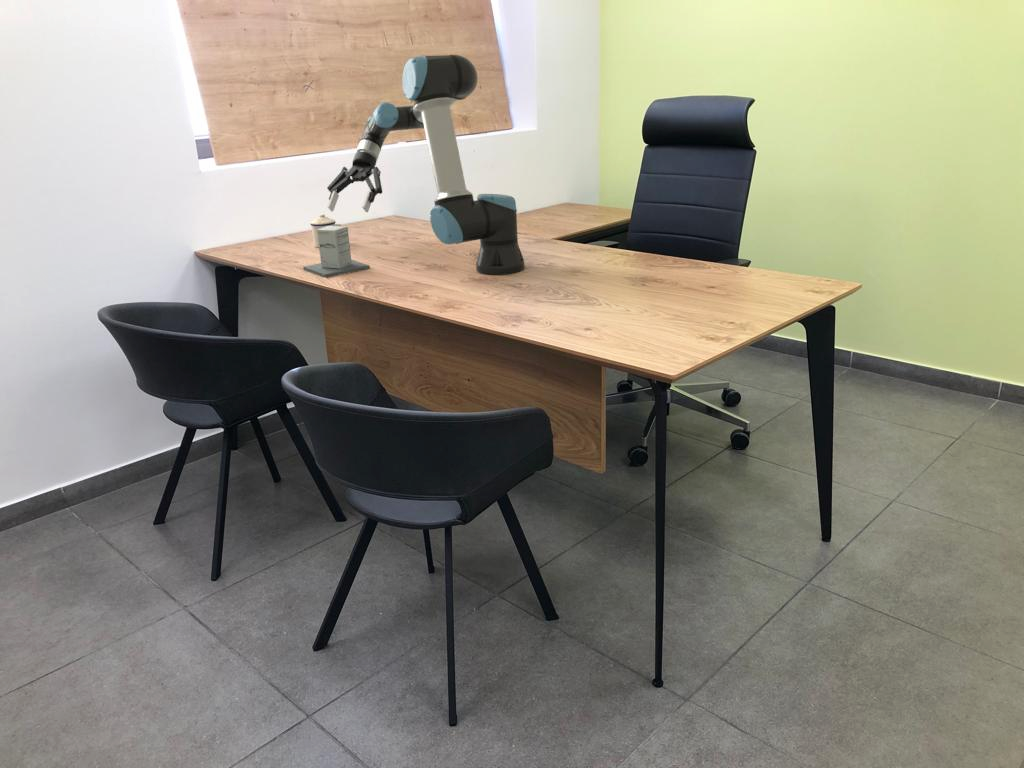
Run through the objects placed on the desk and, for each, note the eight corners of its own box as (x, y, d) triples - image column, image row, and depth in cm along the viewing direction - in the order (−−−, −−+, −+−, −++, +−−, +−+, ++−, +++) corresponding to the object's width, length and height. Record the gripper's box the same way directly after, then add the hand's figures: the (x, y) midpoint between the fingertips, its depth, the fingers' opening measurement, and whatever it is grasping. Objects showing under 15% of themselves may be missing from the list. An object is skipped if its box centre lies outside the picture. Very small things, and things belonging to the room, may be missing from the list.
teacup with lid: (318, 249, 296) (313, 217, 292) (310, 245, 304) (306, 214, 300) (349, 244, 302) (345, 213, 298) (340, 240, 309) (337, 210, 305)
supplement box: (321, 268, 264) (315, 229, 259) (334, 262, 270) (329, 225, 265) (339, 269, 261) (334, 230, 256) (352, 264, 267) (348, 225, 262)
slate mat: (369, 268, 264) (369, 265, 264) (324, 277, 255) (324, 274, 255) (347, 260, 276) (346, 258, 276) (303, 269, 267) (303, 266, 267)
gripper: (402, 164, 274) (385, 216, 267) (340, 164, 283) (321, 215, 276) (393, 149, 268) (374, 203, 260) (329, 150, 277) (310, 202, 269)
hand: (347, 209), depth 268 cm, fingers open, 13 cm apart
